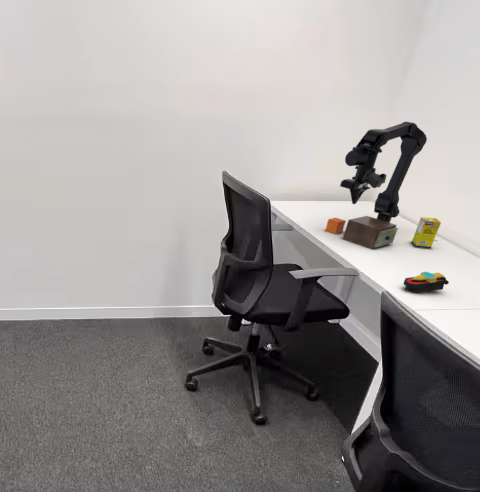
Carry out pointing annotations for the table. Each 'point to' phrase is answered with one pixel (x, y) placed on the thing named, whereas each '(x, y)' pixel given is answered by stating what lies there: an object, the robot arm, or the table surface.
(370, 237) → the cabinet
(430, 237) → the supplement box
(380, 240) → the drawer
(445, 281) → the gadget
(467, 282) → the table surface
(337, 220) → the orange cube
